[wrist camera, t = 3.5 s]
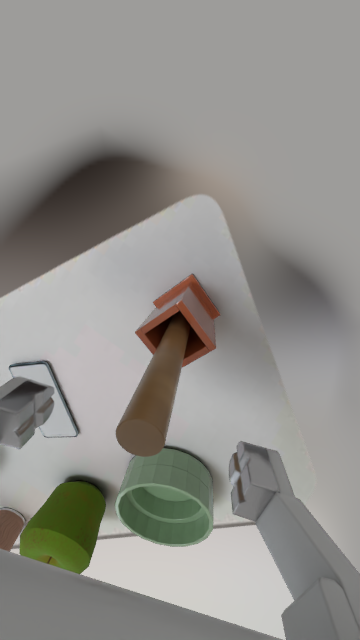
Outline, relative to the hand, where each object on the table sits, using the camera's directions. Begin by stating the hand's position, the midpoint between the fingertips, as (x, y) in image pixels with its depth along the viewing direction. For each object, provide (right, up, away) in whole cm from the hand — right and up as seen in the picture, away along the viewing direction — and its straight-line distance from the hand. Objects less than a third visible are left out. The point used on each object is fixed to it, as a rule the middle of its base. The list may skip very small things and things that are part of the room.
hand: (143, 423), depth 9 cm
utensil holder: (+2, +6, +17) cm, 18 cm away
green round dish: (0, -24, +28) cm, 37 cm away
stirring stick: (+2, +6, +16) cm, 17 cm away
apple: (-18, -31, +33) cm, 48 cm away
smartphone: (-21, -9, +25) cm, 34 cm away
